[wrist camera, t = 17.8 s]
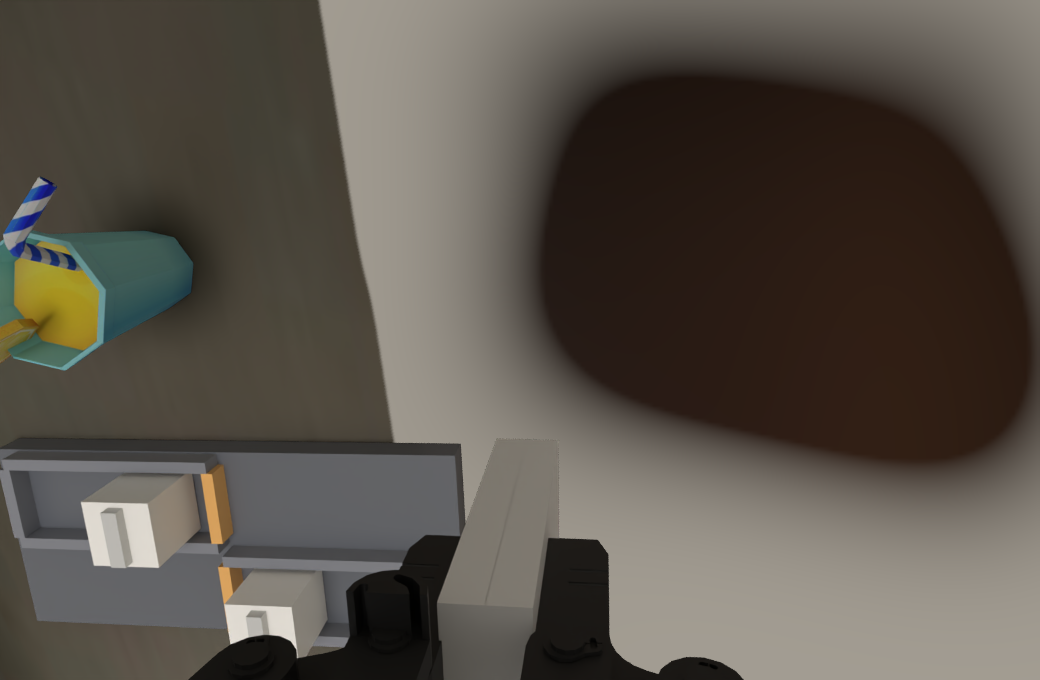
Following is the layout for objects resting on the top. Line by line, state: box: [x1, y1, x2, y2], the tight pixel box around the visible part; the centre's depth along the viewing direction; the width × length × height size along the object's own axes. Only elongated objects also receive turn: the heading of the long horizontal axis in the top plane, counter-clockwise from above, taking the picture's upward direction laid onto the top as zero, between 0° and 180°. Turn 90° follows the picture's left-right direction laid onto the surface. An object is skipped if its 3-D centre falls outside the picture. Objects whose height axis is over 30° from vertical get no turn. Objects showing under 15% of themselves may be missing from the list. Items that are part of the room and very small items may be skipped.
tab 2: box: [224, 568, 328, 658], centre depth 49 cm, size 4×4×6 cm
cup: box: [0, 177, 193, 370], centre depth 41 cm, size 14×8×15 cm, turn 146°
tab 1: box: [81, 472, 201, 568], centre depth 48 cm, size 4×4×6 cm
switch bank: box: [0, 438, 465, 647], centre depth 52 cm, size 14×33×4 cm, turn 92°
